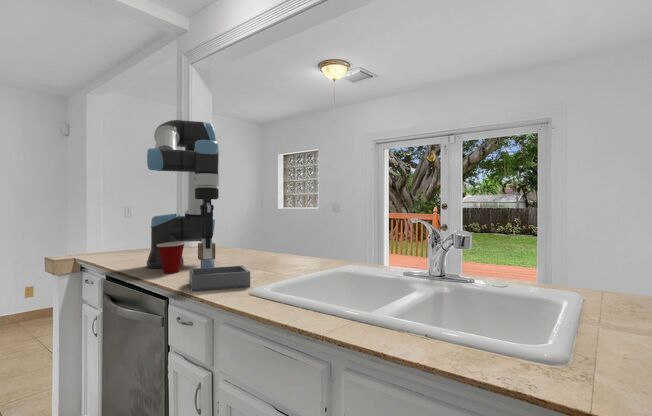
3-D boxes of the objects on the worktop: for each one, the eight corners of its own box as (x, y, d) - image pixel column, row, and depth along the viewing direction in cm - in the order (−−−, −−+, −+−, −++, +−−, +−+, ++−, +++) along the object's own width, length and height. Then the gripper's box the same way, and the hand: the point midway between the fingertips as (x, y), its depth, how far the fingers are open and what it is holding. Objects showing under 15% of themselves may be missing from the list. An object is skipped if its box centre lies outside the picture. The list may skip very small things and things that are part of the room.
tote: (189, 283, 125) (189, 268, 125) (242, 279, 133) (242, 265, 133) (192, 291, 113) (192, 275, 113) (250, 286, 120) (250, 271, 120)
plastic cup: (151, 272, 147) (151, 242, 147) (177, 269, 155) (177, 240, 155) (163, 275, 139) (163, 244, 139) (190, 272, 148) (190, 242, 148)
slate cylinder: (199, 276, 139) (200, 257, 139) (213, 275, 141) (213, 257, 141) (201, 278, 134) (201, 259, 134) (215, 277, 136) (215, 258, 136)
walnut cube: (197, 258, 122) (197, 243, 122) (213, 257, 124) (213, 242, 124) (199, 259, 118) (199, 244, 118) (215, 259, 120) (215, 243, 120)
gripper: (192, 188, 128) (192, 255, 128) (197, 185, 111) (196, 261, 111) (215, 189, 131) (215, 254, 131) (222, 186, 114) (222, 260, 114)
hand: (206, 257), depth 121 cm, fingers closed on walnut cube, 5 cm apart
